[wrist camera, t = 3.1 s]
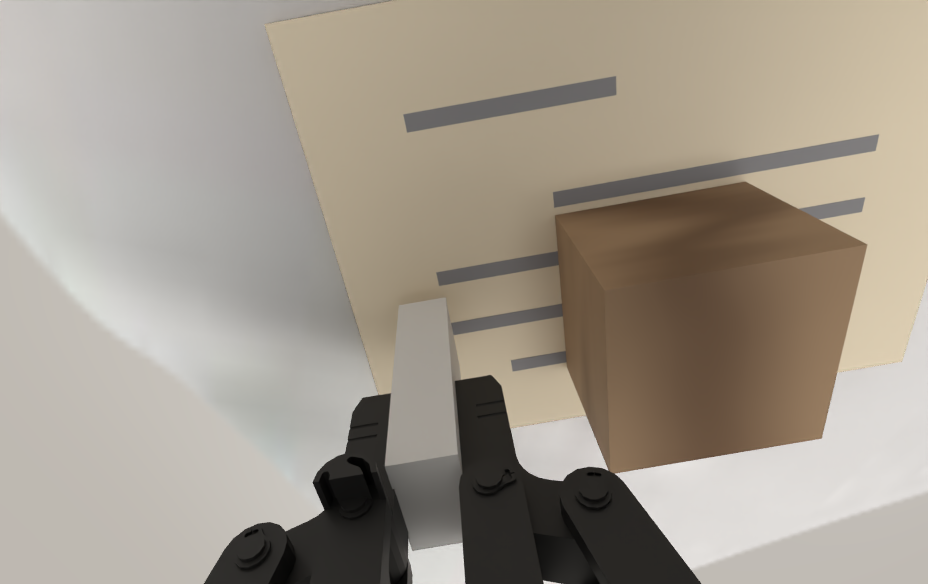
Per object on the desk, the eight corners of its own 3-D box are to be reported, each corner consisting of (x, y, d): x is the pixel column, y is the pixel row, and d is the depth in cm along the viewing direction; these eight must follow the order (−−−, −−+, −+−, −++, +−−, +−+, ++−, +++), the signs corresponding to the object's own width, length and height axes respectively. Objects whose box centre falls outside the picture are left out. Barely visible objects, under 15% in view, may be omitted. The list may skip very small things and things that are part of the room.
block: (745, 181, 16) (867, 244, 12) (728, 339, 19) (821, 438, 14) (554, 215, 16) (604, 290, 12) (566, 367, 19) (610, 474, 15)
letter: (1043, -119, 13) (1052, -121, 13) (897, 358, 20) (902, 361, 20) (266, 23, 13) (264, 24, 13) (395, 444, 20) (395, 448, 20)
